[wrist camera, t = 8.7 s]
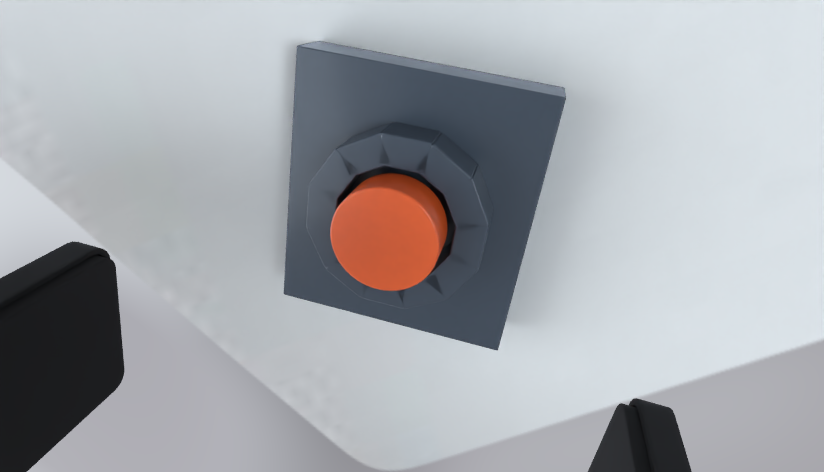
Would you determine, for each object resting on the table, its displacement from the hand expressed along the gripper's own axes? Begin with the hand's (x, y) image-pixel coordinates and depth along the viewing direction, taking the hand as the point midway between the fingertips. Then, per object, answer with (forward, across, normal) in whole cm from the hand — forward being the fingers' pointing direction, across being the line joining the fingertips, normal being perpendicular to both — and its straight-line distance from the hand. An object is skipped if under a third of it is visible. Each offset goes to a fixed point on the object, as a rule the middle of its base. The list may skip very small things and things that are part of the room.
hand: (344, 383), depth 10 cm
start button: (+11, +2, +2) cm, 11 cm away
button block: (+15, +2, +2) cm, 15 cm away
